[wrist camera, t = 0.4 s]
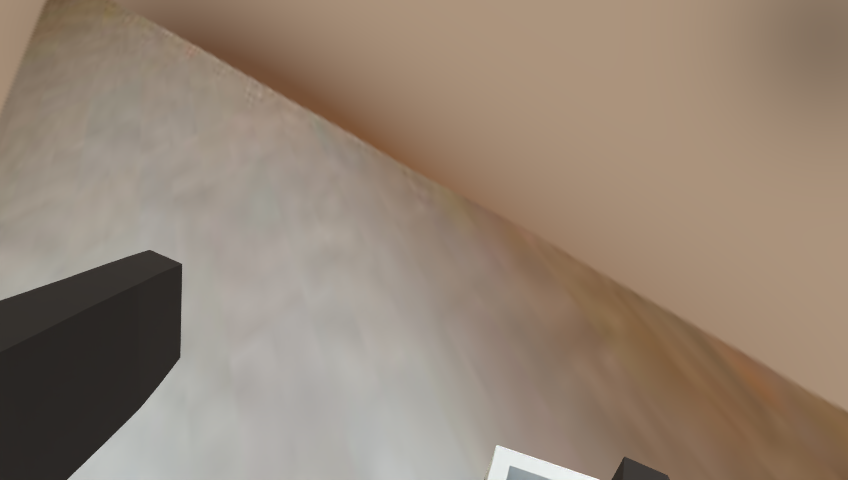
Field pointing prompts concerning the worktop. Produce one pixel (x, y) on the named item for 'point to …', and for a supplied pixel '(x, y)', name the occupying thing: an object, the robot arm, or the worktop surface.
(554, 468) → the bin
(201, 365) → the worktop surface
